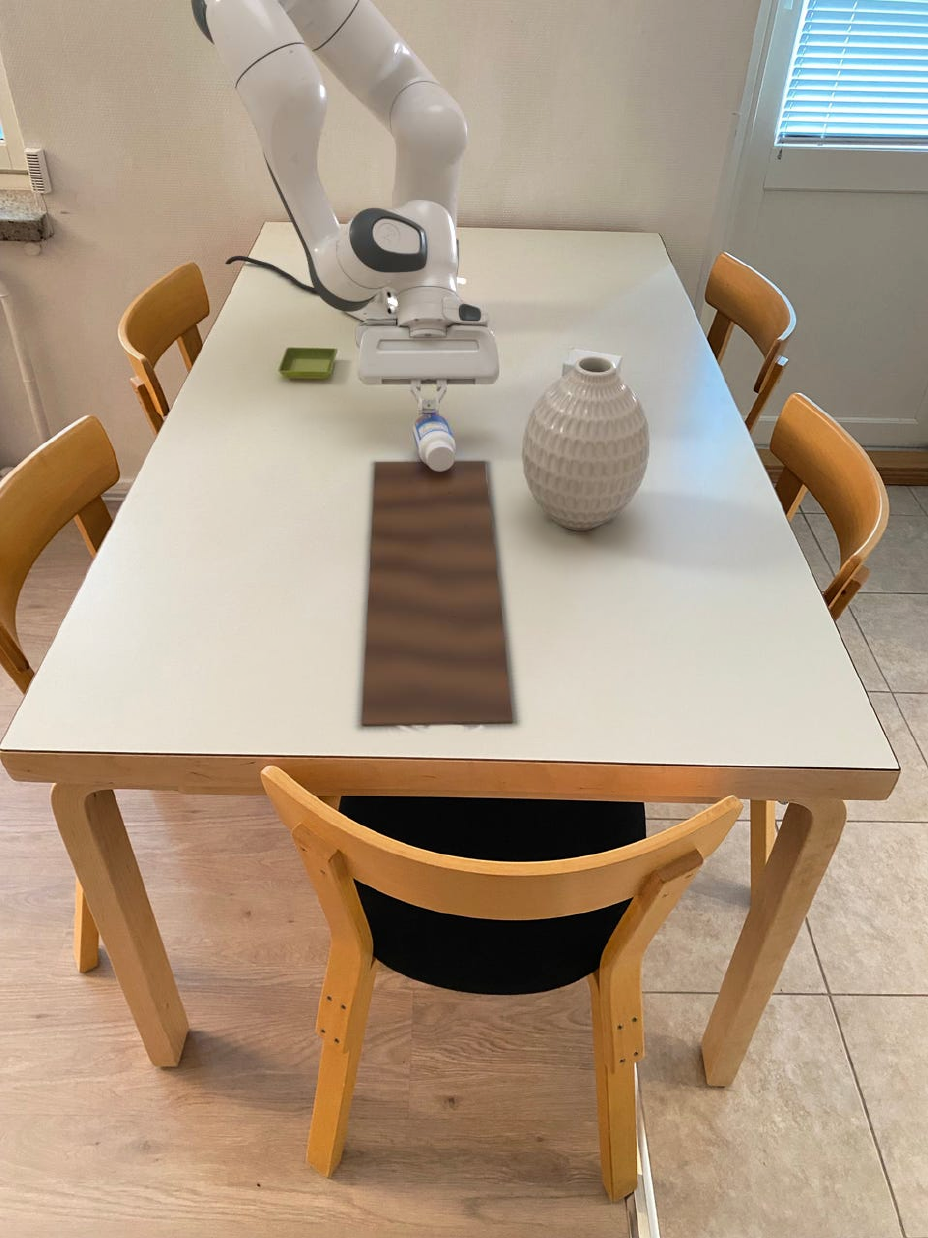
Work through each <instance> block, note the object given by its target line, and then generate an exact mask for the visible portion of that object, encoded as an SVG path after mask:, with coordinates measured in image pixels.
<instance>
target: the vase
mask: <svg viewBox="0 0 928 1238" xmlns="http://www.w3.org/2000/svg"><path fill="white" fill-rule="evenodd" d="M650 435H651V434H650V429H649V423H648V420H647V417H646V413H645V410H644V408H643V406H642V403H641V401H640V400H639V398H638V397H637V395H636V394H635V392H634V390H632V389H631V388H630V386H629V385H628V384H627V383H626V382H625V381H624V380H623V379H622V378H621V376H620V377H619V376H618V375H617V373H616V367H615V365H614V363H612V362H611V361H610V360H608V359H605V358H602V357H595V356H591V357H584V358H581V359H579V360H578V361H576V362H575V365H574V368H573V370H571V371H570V372H569V373H567V374H566V375H565V376H563V377H562V376H561V377H560V378H559V379H557V380H556V381H555V382H553V383H552V384H551V385H550V386H548V388H547V389H546V390H545V391H544V392H543V393H542V394H541V395H540V397H539V398H538V400H537V401H536V403H535V404H534V407H533V408H532V410H531V412H530V414H529V416H528V419H527V421H526V424H525V429H524V434H523V439H522V448H521V449H522V450H521V460H522V469H523V474H524V478H525V480H526V484H527V486H528V487H527V488H528V490H529V491H530V493H531V494H532V496H533V498H534V500H535V501H536V503H537V504H538V506H539V507H540V509H542V511H543V512H544V513H545V514H546V515H547V517H549V518H550V519H551V520H553V521H554V522H555V523H557V524H558V526H561V527H562V528H565V529H568V530H573V531H589V530H593V529H596V528H598V527H599V526H601V525H604V524H606V523H608V522H609V521H611V520H612V519H613V518H614V517H615V516H617V515H618V514H619V513H620V512H622V511H623V509H624V508H626V506H628V504H629V503H630V502H631V501H632V500H633V498H634V497H635V495H636V494H637V492H638V490H639V488H640V486H641V484H642V482H643V479H644V477H645V474H646V471H647V468H648V463H649V457H650V442H651V441H650V440H651V437H650Z"/></svg>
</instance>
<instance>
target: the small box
mask: <svg viewBox="0 0 928 1238" xmlns="http://www.w3.org/2000/svg"><path fill="white" fill-rule="evenodd" d="M591 356H595V357H602V358H605V359H608V360H610V361H611V362H612V363H614V365H615V367H616V373H617V375H618V376H619V377H620V378H621V372H622V363H623V356H622V355H615V354H610V353H603V352H597V351H590V350H584V349H578V348H572V349H571V350H570V352H569V353H568V355H567V356H566V358H565V360H564V361H563V363H562V368H561V369H562V370H561V372H562V373H561V378H562V377H563V376H565V375H566V374H567V373H569V372H570V371H571V370H573V368H574V365H575V362H576V361H578V360H579V359H581V358H584V357H591Z"/></svg>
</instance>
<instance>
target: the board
mask: <svg viewBox="0 0 928 1238" xmlns="http://www.w3.org/2000/svg"><path fill="white" fill-rule="evenodd" d="M370 540H371V541H370V555H369V558H370V559H369V575H368V576H369V577H368V578H369V579H368V592H367V593H368V595H367V615H366V632H365V633H366V634H365V652H364V653H365V654H364V656H365V657H364V669H363V670H364V673H363V687H362V688H363V691H362V692H363V693H362V707H361V708H362V710H361V726H391V725H392V726H393V725H394V726H395V725H396V726H397V725H399V726H400V725H446V724H451V725H452V724H455V725H456V724H500V723H503V724H504V723H513V722H514V718H513V708H512V697H511V689H510V688H511V687H510V679H509V671H508V670H509V669H508V662H507V652H506V643H505V641H506V640H505V633H504V623H503V615H502V614H503V613H502V606H501V605H502V604H501V595H500V586H499V577H498V565H497V557H496V547H495V539H494V530H493V520H492V509H491V501H490V492H489V482H488V472H487V462H486V461H485V460H471V461H470V460H469V461H465V460H463V461H461V460H460V461H459V460H458V461H457V460H456V461H455V460H454V463H453V465H452V466H451V467H450V468H449V469H447V470H445V471H441V472H439V471H434V470H432V469H431V468H430V467H429V466H428V465H427V464H425V463H424V462H423V461H375V462H374V480H373V499H372V517H371V536H370Z"/></svg>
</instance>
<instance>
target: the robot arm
mask: <svg viewBox="0 0 928 1238" xmlns="http://www.w3.org/2000/svg"><path fill="white" fill-rule="evenodd" d="M190 1H191V2H190V4H191V10H192V15H193V19H194V20H195V23H196V25H197V27H198V28H199V30H200V31H201V33H202V34H203V35H204V36H205V37H206V39H207V40H208V41H209V42H210V43H211V44H212V45H214V47H215V49H216V52H217V54H218V56H219V59H220V61H221V64H222V65H223V67H224V70H225V72H226V74H227V76H228V78H229V79H230V81H231V83H232V85H233V87H234V89H235V91H236V92H237V95H238V97H239V98H240V100H241V102H242V104H243V106H244V108H245V110H246V112H247V114H248V117H249V118H250V121H251V123H252V125H253V128H254V130H255V132H256V135H257V138H258V140H259V143H260V146H261V150H262V154H263V158H264V160H265V163H266V166H267V170H268V172H269V174H270V177H271V179H272V182H273V185H274V186H275V189H276V191H277V193H278V195H279V198H280V200H281V202H282V204H283V206H284V209H285V211H286V213H287V215H288V217H289V220H290V222H291V223H292V225H293V226H292V227H293V228H294V230H295V232H296V234H297V237H298V238H299V241H300V243H301V246H302V248H303V250H304V253H305V257H306V261H307V267H308V272H309V273H308V274H309V277H310V281H311V284H312V286H310V285H307V284H304V283H302V282H300V281H299V280H298V279H297V278H295V277H294V276H293V275H291V274H290V273H288V272H287V271H284V270H283V269H281V268H280V267H278V266H276V265H274V264H272V263H269V262H266V261H262V260H259V259H255V258H252V257H250V256H249V257H248V256H244V255H235V256H232V257H230V258H228V259H227V260H226V261H225V263H224V264H225V265H231V264H232V263H234V262H238V261H242V262H247V263H250V264H254V265H256V266H260V267H263V268H266V269H269V270H271V271H274V272H276V273H277V274H279V275H281V276H282V277H284V278H286V279H287V280H289V281H290V282H291V283H293V284H294V285H295V286H297V287H298V288H300V289H302V290H304V291H307V292H310V293H312V294H315V295H318V296H319V298H320V299H321V300H322V301H323V302H325V303H326V304H327V305H328V306H329V307H331V308H333V309H335V310H338V311H340V312H345V313H346V314H348V315H350V316H351V317H353V318H356V319H358V320H361V321H362V322H360V323H359V324H358V325H357V326H356V327H355V332H354V333H355V334H354V337H355V340H354V341H355V345H356V347H357V348H358V356H357V376H358V379H359V381H360V382H361V383H362V384H363V385H373V386H374V385H376V386H377V385H378V386H379V385H381V386H382V385H386V386H387V385H395V386H396V385H398V386H400V385H401V386H403V385H406V386H407V385H410V393H411V394H412V396H413V397H414V399H415V400H416V402H417V404H418V415H424V414H439V415H440V403H441V402H442V400H443V398H444V396H445V395H446V393H447V386H448V385H493V384H495V383H496V381H497V380H498V379H499V376H500V360H499V352H498V345H497V340H496V336H495V334H494V332H493V331H492V330H491V329H490V313H489V311H488V309H486V308H485V307H481V306H478V305H475V304H472V303H469V302H465V301H463V300H462V299H461V295H460V288H459V287H460V286H459V283H460V284H466V279H465V278H460V277H459V276H458V275H459V269H460V268H459V265H460V240H459V239H458V237H457V236H458V196H459V195H458V194H459V186H460V181H461V180H460V179H461V175H462V168H463V163H464V153H465V151H466V148H467V144H468V137H469V135H468V126H467V120H466V117H465V114H464V111H463V109H462V107H461V106H460V104H459V102H457V101H456V99H454V97H453V96H452V95H451V94H450V93H449V91H447V90H446V88H445V87H444V85H442V84H441V83H440V82H439V80H438V78H436V77H435V76H434V74H433V73H432V72H431V71H430V70H429V68H428V67H427V66H426V65H425V64H424V63H423V61H422V60H421V59H420V58H419V57H418V55H416V53H415V52H414V51H413V49H412V48H411V47H410V46H409V45H408V43H406V41H405V40H404V38H402V36H401V35H400V34H399V33H398V32H397V30H396V29H395V28H394V26H392V24H391V23H390V22H389V20H387V19H386V17H385V16H384V15H383V14H382V13H381V12H380V11H379V9H378V8H377V7H376V6H375V4H374V3H373V2H372V1H371V0H190ZM312 53H313V54H314V55H315V56H316V58H318V59H319V61H320V62H321V63H323V65H324V66H325V67H326V68H327V70H329V72H331V74H332V75H333V76H334V77H335V79H337V80H338V81H339V83H341V84H342V86H343V87H344V88H345V89H346V90H347V91H348V92H349V93H350V94H351V95H353V97H354V98H356V100H358V101H359V102H360V103H361V104H362V105H363V107H365V108H366V109H367V110H368V112H370V113H371V115H373V116H374V117H375V118H376V120H378V122H380V123H381V125H382V126H383V127H384V128H385V129H386V130H387V132H389V134H390V135H391V136H392V138H393V139H394V144H395V152H396V154H395V155H396V156H395V172H394V181H393V189H392V192H391V206H392V207H391V209H384V208H380V207H369V208H365V209H362V210H361V211H359V212H358V213H357V214H355V215H354V216H353V217H352V218H351V219H349V221H348V222H347V223H346V224H345V225H344V226H343V227H341V224H340V222H339V220H338V218H337V215H336V213H335V211H334V209H333V207H332V204H331V203H330V200H329V197H328V195H327V193H326V190H325V188H324V185H323V184H322V182H321V177H320V174H319V168H318V153H319V144H320V140H321V134H322V130H323V127H324V123H325V120H326V115H327V109H328V92H327V89H326V85H325V83H324V79H323V76H322V74H321V71H320V68H319V66H318V64H317V62H316V60H315V58H314V57H313V55H312ZM423 385H425V386H426V385H436V392H437V394H436V396H435V398H433V399H432V398H431V399H424V398H423V396H422V394H421V393H420V392H421V390H422V389H421V388H422V387H421V386H423Z"/></svg>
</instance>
